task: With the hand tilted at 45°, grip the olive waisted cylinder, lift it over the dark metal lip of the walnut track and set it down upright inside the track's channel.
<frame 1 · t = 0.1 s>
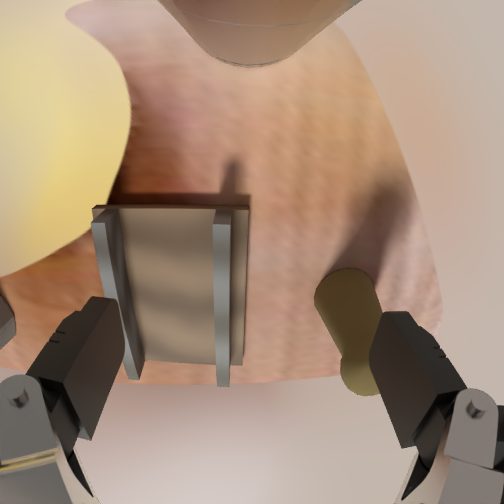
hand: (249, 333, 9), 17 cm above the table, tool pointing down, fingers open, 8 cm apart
olive waisted cylinder: (343, 294, 30), on the table
walnut track: (174, 292, 29), on the table
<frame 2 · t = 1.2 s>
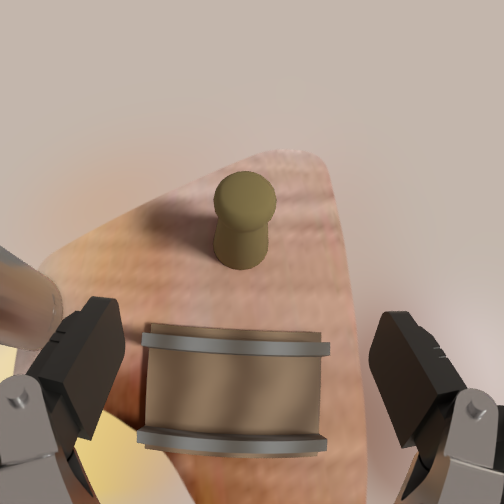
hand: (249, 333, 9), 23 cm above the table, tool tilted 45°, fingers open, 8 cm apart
olive waisted cylinder: (240, 244, 36), on the table
walnut track: (233, 394, 30), on the table
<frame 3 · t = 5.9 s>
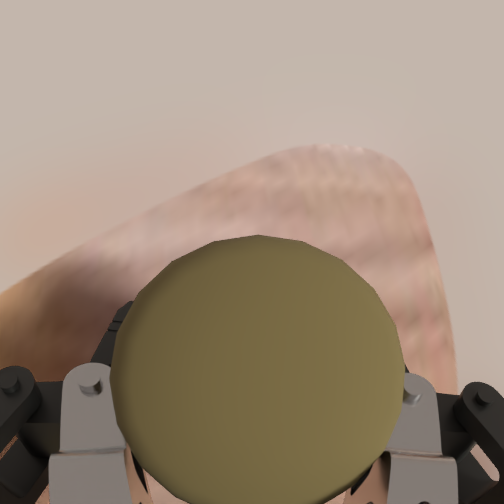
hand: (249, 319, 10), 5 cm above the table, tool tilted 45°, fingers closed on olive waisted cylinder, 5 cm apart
olive waisted cylinder: (242, 375, 14), on the table, touching gripper
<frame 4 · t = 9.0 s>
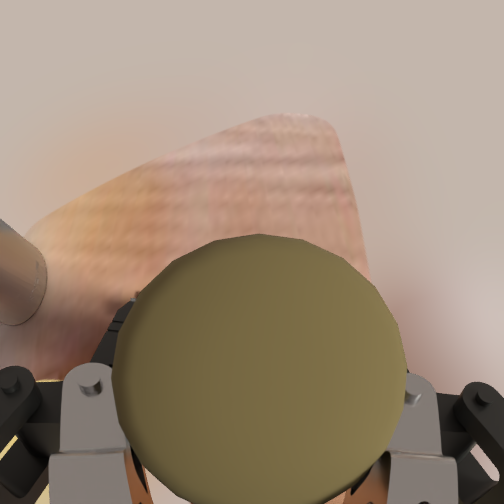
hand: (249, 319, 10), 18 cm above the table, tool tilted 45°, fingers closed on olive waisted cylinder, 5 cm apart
olive waisted cylinder: (245, 375, 14), point 13 cm above the table, touching gripper
when the fingers open (7 cm above the table, at t = 12.1 s): olive waisted cylinder drops 1 cm, resting on walnut track.
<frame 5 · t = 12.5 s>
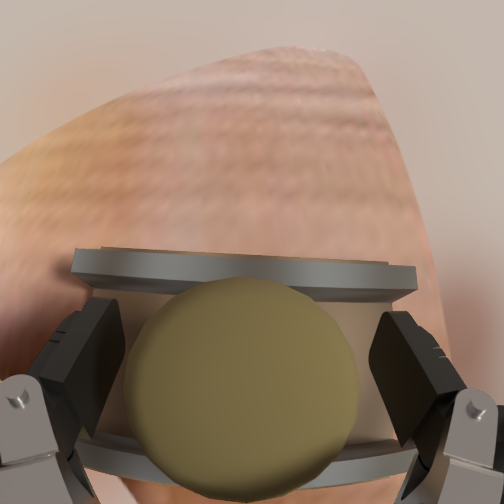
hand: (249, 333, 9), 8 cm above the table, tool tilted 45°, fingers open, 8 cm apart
olive waisted cylinder: (236, 380, 15), point 1 cm above the table, touching walnut track
walnut track: (240, 375, 16), on the table
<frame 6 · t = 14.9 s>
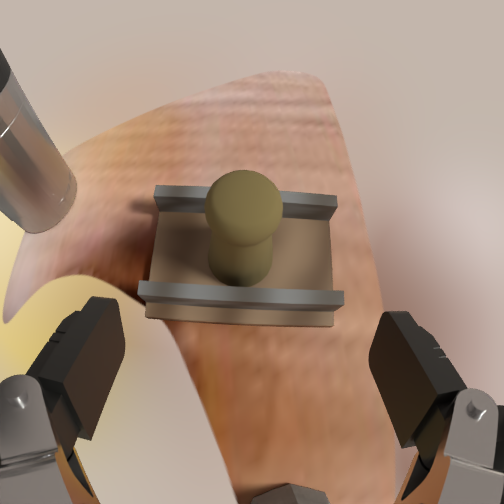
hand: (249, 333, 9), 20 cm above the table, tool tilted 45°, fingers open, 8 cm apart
olive waisted cylinder: (240, 257, 30), point 1 cm above the table, touching walnut track
walnut track: (242, 257, 31), on the table
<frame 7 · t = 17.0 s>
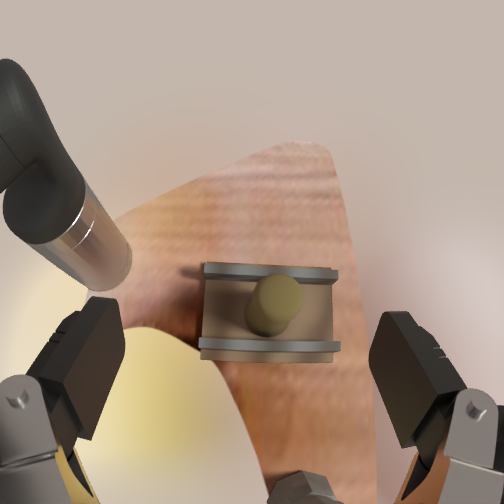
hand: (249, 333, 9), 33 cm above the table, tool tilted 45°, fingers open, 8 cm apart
olive waisted cylinder: (267, 314, 41), point 1 cm above the table, touching walnut track
coffeepot: (305, 502, 33), on the table
walnut track: (268, 313, 42), on the table
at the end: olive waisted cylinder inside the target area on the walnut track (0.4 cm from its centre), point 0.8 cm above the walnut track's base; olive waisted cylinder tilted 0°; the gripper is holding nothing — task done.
